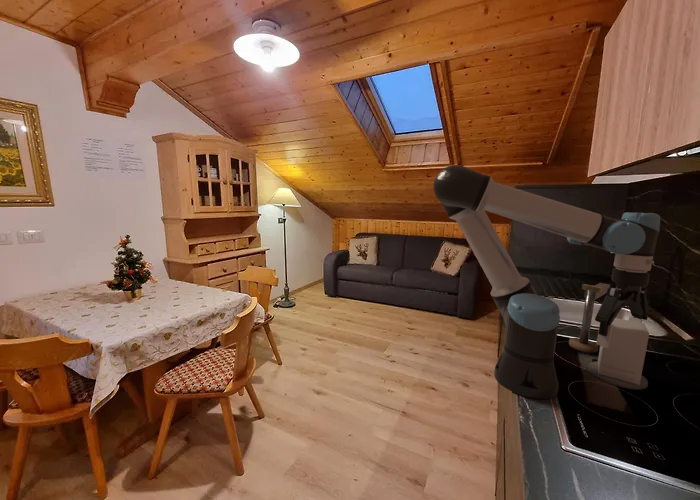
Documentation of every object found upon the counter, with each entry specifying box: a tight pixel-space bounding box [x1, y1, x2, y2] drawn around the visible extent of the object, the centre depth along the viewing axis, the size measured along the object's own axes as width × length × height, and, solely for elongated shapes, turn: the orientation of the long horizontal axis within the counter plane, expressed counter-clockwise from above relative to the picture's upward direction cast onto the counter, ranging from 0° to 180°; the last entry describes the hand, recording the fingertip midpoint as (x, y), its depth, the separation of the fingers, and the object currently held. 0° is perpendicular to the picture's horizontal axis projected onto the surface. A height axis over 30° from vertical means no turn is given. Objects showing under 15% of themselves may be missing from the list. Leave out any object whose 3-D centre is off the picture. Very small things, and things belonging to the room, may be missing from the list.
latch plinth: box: [568, 337, 599, 354], centre depth 105 cm, size 8×8×2 cm
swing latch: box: [579, 282, 611, 344], centre depth 108 cm, size 17×5×20 cm, turn 128°
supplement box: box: [597, 317, 650, 385], centre depth 87 cm, size 9×9×15 cm
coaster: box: [587, 361, 649, 391], centre depth 88 cm, size 13×13×1 cm
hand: (617, 342), depth 87 cm, fingers open, 13 cm apart
